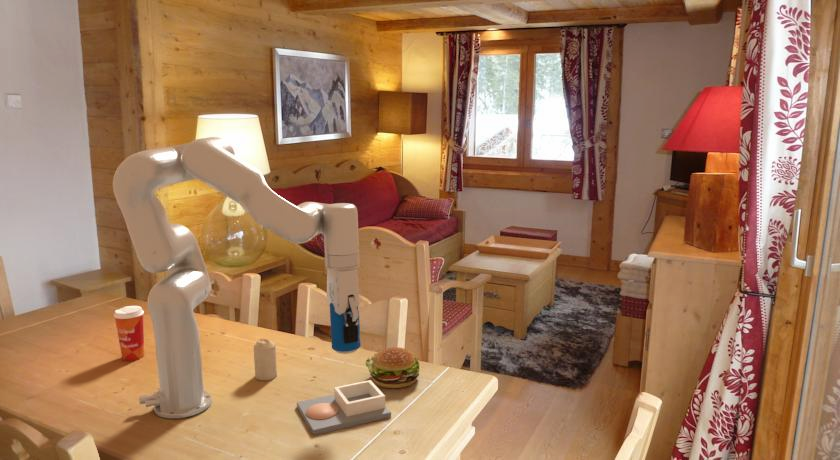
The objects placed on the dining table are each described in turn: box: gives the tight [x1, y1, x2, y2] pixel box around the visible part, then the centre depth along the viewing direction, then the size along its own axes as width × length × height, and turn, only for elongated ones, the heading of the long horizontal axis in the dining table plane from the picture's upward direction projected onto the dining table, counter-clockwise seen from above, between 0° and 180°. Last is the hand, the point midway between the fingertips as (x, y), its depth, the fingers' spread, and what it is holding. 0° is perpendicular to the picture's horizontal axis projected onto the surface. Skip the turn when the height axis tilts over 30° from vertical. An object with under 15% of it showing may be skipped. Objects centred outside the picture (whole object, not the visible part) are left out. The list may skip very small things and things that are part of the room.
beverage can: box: [329, 303, 361, 355], centre depth 139 cm, size 6×6×12 cm
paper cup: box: [113, 305, 145, 362], centre depth 173 cm, size 8×8×14 cm
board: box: [296, 379, 392, 436], centre depth 143 cm, size 18×14×4 cm
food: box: [365, 346, 420, 389], centre depth 159 cm, size 14×14×8 cm
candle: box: [253, 338, 278, 382], centre depth 161 cm, size 6×6×10 cm
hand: (345, 336), depth 140 cm, fingers closed on beverage can, 6 cm apart
